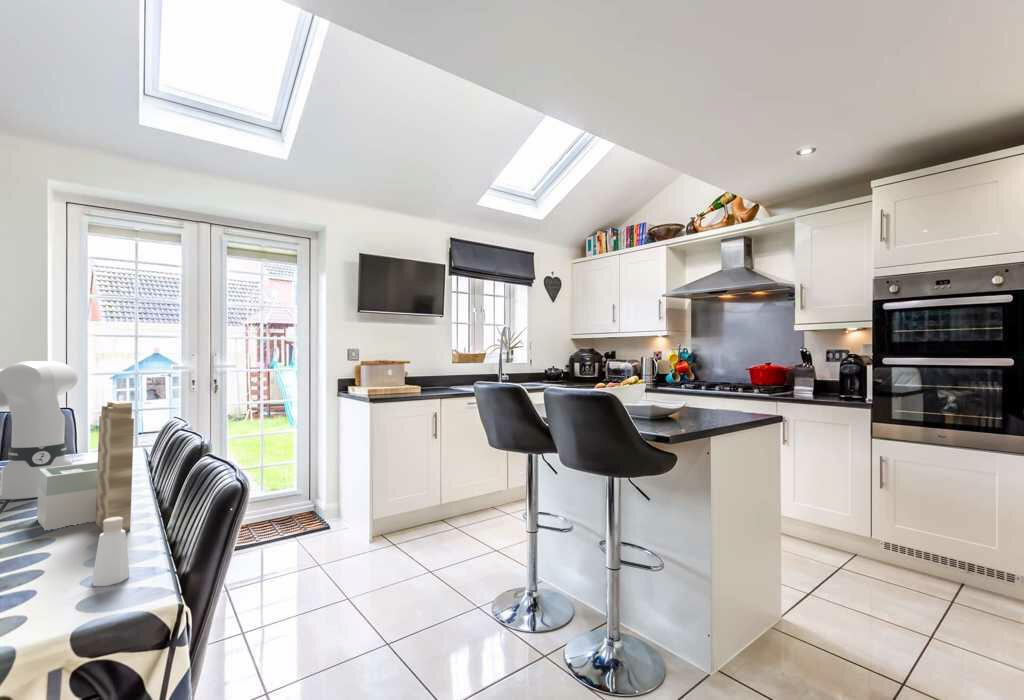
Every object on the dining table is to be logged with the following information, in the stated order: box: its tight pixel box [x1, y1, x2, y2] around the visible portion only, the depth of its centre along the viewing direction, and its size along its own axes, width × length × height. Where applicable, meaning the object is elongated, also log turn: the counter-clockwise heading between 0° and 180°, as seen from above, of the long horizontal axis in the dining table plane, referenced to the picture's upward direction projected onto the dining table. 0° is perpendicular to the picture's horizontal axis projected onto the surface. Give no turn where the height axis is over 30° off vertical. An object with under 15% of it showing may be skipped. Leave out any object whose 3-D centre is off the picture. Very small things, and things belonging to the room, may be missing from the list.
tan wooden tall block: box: [95, 400, 135, 532], centre depth 112 cm, size 12×4×30 cm, turn 52°
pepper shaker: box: [91, 517, 130, 587], centre depth 85 cm, size 5×5×11 cm
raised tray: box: [36, 461, 98, 532], centre depth 118 cm, size 12×16×12 cm
